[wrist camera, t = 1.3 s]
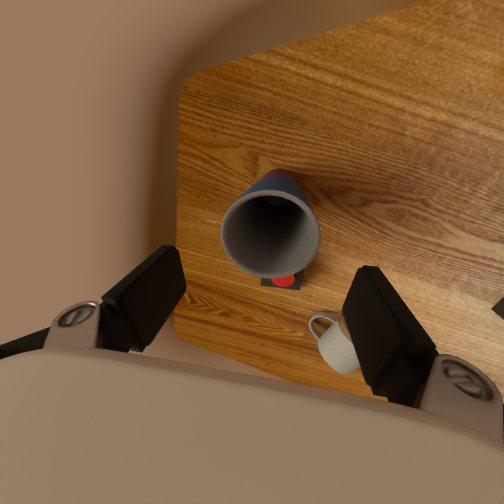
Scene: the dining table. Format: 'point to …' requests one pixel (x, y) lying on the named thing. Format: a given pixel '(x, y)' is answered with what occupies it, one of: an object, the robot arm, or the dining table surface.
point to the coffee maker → (499, 308)
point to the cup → (271, 228)
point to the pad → (294, 285)
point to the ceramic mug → (336, 344)
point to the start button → (284, 281)
